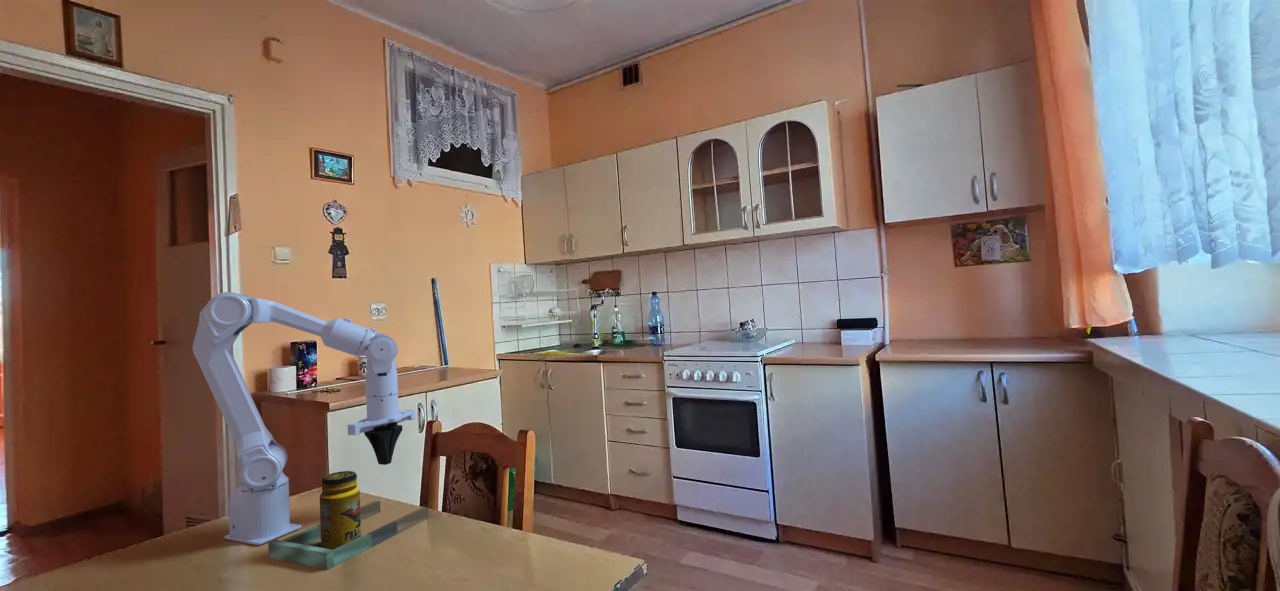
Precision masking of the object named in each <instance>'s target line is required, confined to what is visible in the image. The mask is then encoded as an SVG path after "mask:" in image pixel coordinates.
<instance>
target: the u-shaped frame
mask: <svg viewBox="0 0 1280 591" xmlns="http://www.w3.org/2000/svg"><path fill="white" fill-rule="evenodd" d="M360 511H361V512H360V515H361V516H360V517H361V520H360V521H363V520H365V519H366V518H370V517H371V516H374V515H376V514H378V513H380V512H381V501H380V500H373V501H372V502H370V503H367V504H364V505H362V506H360ZM429 517H430V516H429V507H427V506H422V507H420V508H418V509H416V510H414V511H411V512H409V513H407V514H406V515H403V516H401V517H399V518H397V519H395V520H392V521H391V522H389V523H386V524H384V525H381V526H380V527H378V528H376V529H374V530H372V531H369V532H367V533H365V534H364V535H361V537H359V538H357V539H355V540H353V541H351V542H348V543H346V544H344V545H342V546H340V547H338V548H336V549H334V550H331V549H325V548H320V547H314V546H309V545H310V543H313V542H315V541H317V540H319V539H320V540H321V527H320V523H319V524H317V525H314V526H312V527H310V528H307V529H305V530H302V531H300V532H298V533H296V534H293V535H291V536H287V537H286V538H283V539H281V540H279V539H273V540H270V541H268V542H267V543H268V559H271V560H278V561H283V562H287V563H293V564H298V565H302V566H305V567H306V566H308V567H312V568H317V569H322V570H326V571H327V570H329V569H331V568H333V567H336V566H337V565H339V564H341V563H344V562H345V561H347V560H349V559H351V558H353V557H355V556H356V555H358V554H362V553H363V552H364V551H366V550H368V549H371V548H373V547H374V546H376V545H378V544H381V543H383V542H384V541H387V540H388V539H390V538H392V537H394V536H396V535H398V534H400V533H402V532H404V531H406V530H408V529H410V528H412V527H414V526H416V525H418V524H420V523H422V522H424V521H425V520H428V519H429Z"/></svg>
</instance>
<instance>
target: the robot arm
mask: <svg viewBox="0 0 1280 591" xmlns="http://www.w3.org/2000/svg"><path fill="white" fill-rule="evenodd" d="M263 323H277V324H280V325H283V326H286V327H289V328H293V329H296V330H298V331H302V332H305V333H308V334H311V335H315V336H318V337H320V339H321V341H322V344H323V345H324V346H325V347H328V348H331V349H334V350H337V351H340V352H343V353H346V354H349V355H351V356H355V357H357V358H359V357H362V356H365V358H366V372H365V395H366V396H365V398H366V399H365V400H366V403H365V404H366V418H364V419H361V420H359V421H356V422H353V423H348V424H347V436H358V435H360V434H362V433H363V434H364V436H365V437H366V438H367V440H368V442H369V443H370V445H371V447H372V449H373V452H374V454H375V456H376V461H377V464H378V465H381V466H382V465H383V466H387V465H389V464H391V463H392V460H393V455H394V451H395V448H396V444H397V441H398V439H399V437H400V435H401V433H402V431H403V425H402V424H399V423H403V422H407V421H413V420H415V419H416V410H415V409H406V410H401V411H399V409H400V408H399V388H398V387H399V385H398V384H399V383H398V382H399V381H398V370H397V359H396V357H397V356H398V352H399V348H398V345H397V343H396V341H395V339H393V338H392V337H390V336H389V335H387V334H385V333H383V332H378V333H377V331H378V329H377V328H375V327H372V328H366V327H364V326H362V325H359V324H356V323H354V322H353V320H352V319H351V318H349V317H345V318H344V319H342V318H339V317H337V318H334V319H332V320H329V321H327V320H324V319H322V318H320V317H316V316H314V315H311V314H309V313H306V312H303V311H301V310H297V309H296V308H293V307H290V306H287V305H285V304H282V303H279V302H277V301H273V300H267V299H264V298H260V297H259V298H257V297H255V296H254V297H253V296H248V295H246V294H242V293H236V292H232V291H226V292H225V291H224V292H221V293H218V294H216V295H214V296H213V297H211V298H210V299H209V300H208V302H207V303H206V304H205V306H204V307H203V308H202V310H201V311H199V321H198V326H197V328H196V333H195V336H194V340H193V343H192V351H193V355H194V357H195V359H196V361H197V364H198V365H199V367H200V369H201V372H202V374H203V377H204V378H205V381H206V382H207V385H208V386H209V389H210V391H211V393H212V395H213V398H214V400H215V401H216V404H217V407H218V408H219V410H220V412H221V415H222V417H223V419H224V421H225V423H226V425H227V427H228V430H229V431H230V434H231V436H232V438H233V440H234V443H235V453H236V457H237V459H238V461H239V471H238V474H239V476H238V477H239V480H240V481H241V485H240V486H239V487H236V488H235V490H234V491H232V494H231V496H230V499H229V504H228V510H229V511H228V514H229V534H227V535H224V539H225V540H228V541H235V542H240V543H245V544H251V545H256V546H260V545H262V544H265V543H268V542H271V541H273V540H276V539H277V538H280V537H283V536H285V535H287V534H290V533H292V532H294V531H297V530H299V529H301V528H302V524H297V523H291V517H290V515H291V514H290V510H291V508H290V485H289V484H290V482H289V479H290V478H289V477H288V476H286V474H284V471H283V469H284V468H285V467H286V465H287V462H288V452H287V451H286V449H285V448H284V447H283V446H282V445H280V443H278V442H276V440H275V439H274V437H273V434H272V433H271V432H270V431H269V430H268V428H267V427H266V425H265V423H264V421H263V419H262V416H261V414H260V412H259V410H258V408H257V405H256V403H255V401H254V398H253V397H252V395H251V393H250V390H249V388H248V386H247V383H246V381H245V379H244V378H243V375H242V373H241V371H240V368H239V367H238V366H239V365H238V364H237V362H236V360H235V358H234V355H233V353H232V351H231V348H232V346H233V345H234V343H235V342H236V341H237V339H238V337H239V336H240V333H242V332H243V331H244V330H246V329H247V328H248V327H249V326H250V325H252V324H263Z"/></svg>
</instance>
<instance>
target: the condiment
mask: <svg viewBox="0 0 1280 591" xmlns="http://www.w3.org/2000/svg"><path fill="white" fill-rule="evenodd" d="M357 480H358V475H357V473H356V472H355V471H352V470H342V471H337V472H332V473H329V474H326V475H325V476H323V477H322V479H321V493H320V495H319V520H320V523H319V524H320V527H321V538H320V541H319V542H316V543H313V544H308V545H309V546H314V547H320V548H325V549H331V550H334V549H336V548H338V547H340V546H342V545H344V544H346V543H348V542H351V541H353V540H355V539H357V538H359V537H361V536H362V534H361V532H362V531H361V530H362V522H361V521H362V520H361V517H360V516H361V515H360V512H361V511H360V507H361V498H360V497H361V493H360V488H359V486H357V485H358V481H357Z"/></svg>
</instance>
